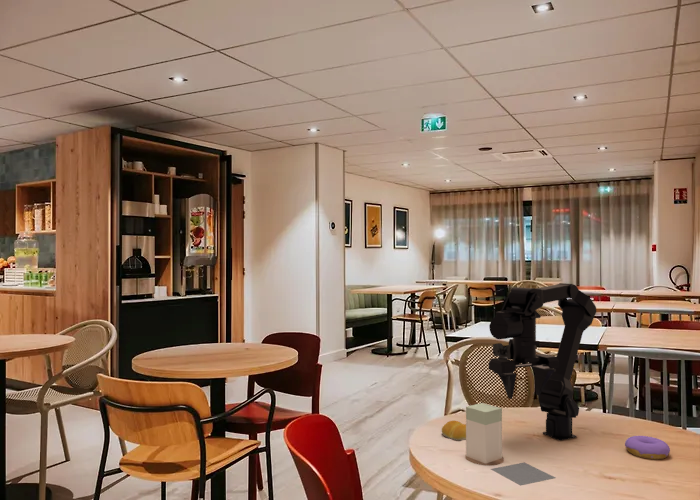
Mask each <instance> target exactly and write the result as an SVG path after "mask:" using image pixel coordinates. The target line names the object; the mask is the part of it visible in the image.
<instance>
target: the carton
mask: <svg viewBox="0 0 700 500" xmlns="http://www.w3.org/2000/svg"><path fill="white" fill-rule="evenodd" d="M465 424H466V440H465V456H467V457H469V458H472V459H475V460H477V461H480V462H482V463H485V464H486V463H489V462H492V461H495V460H498V459H501V458H502V457H503V407H500V406H499V407H498V406H495V405H491V404H489V403H488V404H487V403H484V402H480V403H475V404H472V405H471V404H470V405H468V406H465Z"/></svg>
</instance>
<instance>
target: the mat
mask: <svg viewBox="0 0 700 500" xmlns="http://www.w3.org/2000/svg"><path fill="white" fill-rule="evenodd" d="M490 470H492V471H493V472H495V473H497V474H499V475H500V476H502V477H504V478H506V479H508V480H510V481H512V482H514V483H515V484H517V485H519V486H525V485H530V484H534V483H539V482H545V481H549V480H553V479H556V478H557V477H556V476H553V475H551V474H549V473H547V472H545V471H544V470H542V469H539V468H537V467H536V466H533V465H530V464H529V463H526V462H524V461H523V462H519V463H514V464H510V465H504V466H503V465H502V466H498V467H494V468H490Z"/></svg>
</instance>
